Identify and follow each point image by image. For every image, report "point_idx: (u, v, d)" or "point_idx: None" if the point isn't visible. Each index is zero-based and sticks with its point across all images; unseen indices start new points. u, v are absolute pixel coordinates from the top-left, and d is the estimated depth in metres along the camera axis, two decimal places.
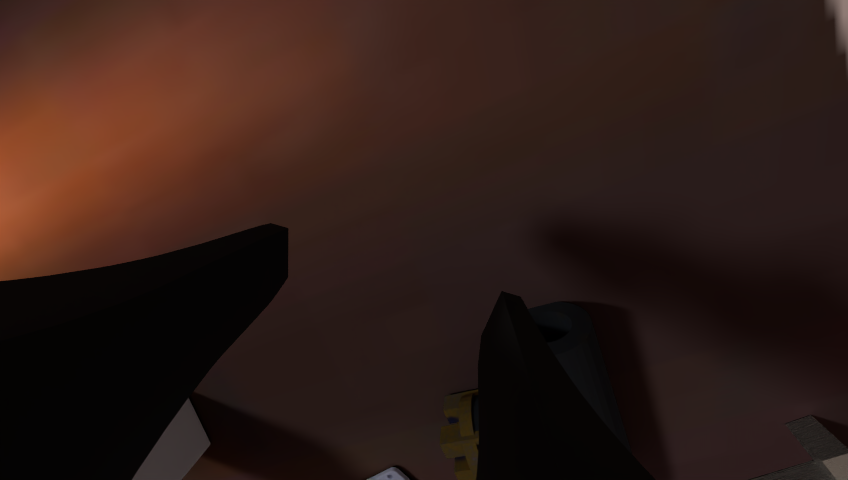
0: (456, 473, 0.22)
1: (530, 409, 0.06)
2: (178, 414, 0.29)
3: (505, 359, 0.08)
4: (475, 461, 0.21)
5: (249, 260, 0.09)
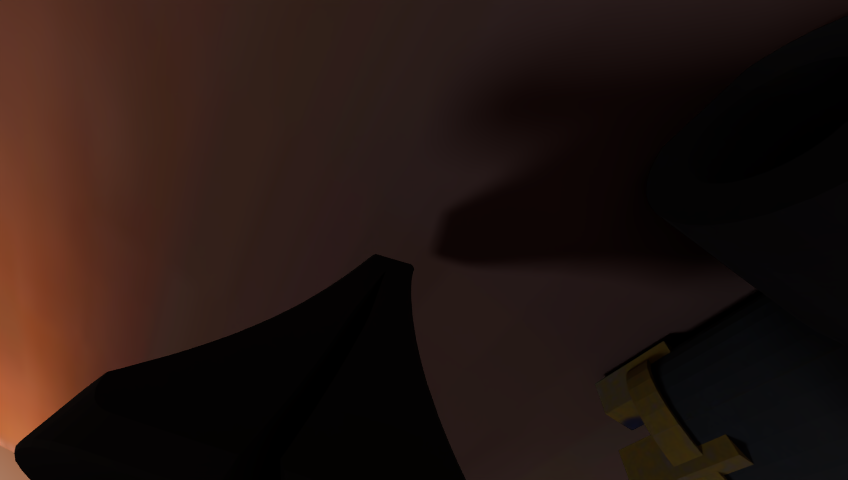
0: None
1: None
2: None
3: None
4: None
5: (372, 297, 0.09)
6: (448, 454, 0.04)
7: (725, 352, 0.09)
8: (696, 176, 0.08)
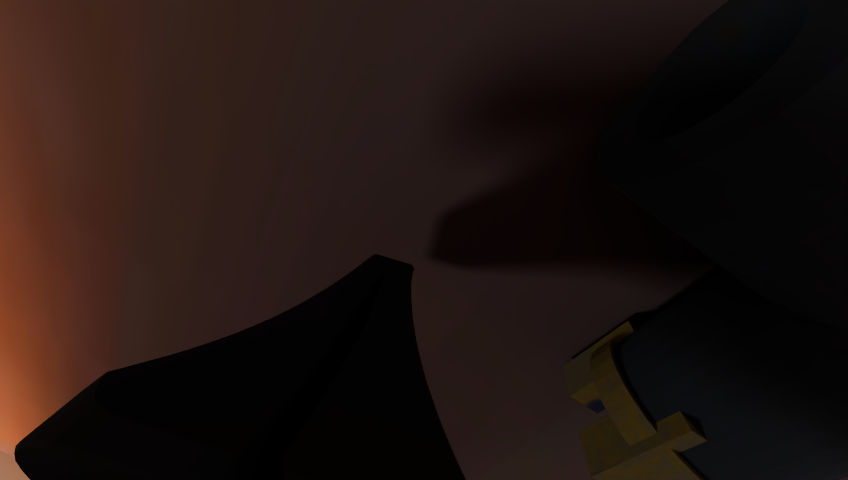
0: None
1: None
2: None
3: None
4: None
5: (372, 297, 0.09)
6: (448, 454, 0.04)
7: (683, 327, 0.09)
8: (643, 138, 0.07)
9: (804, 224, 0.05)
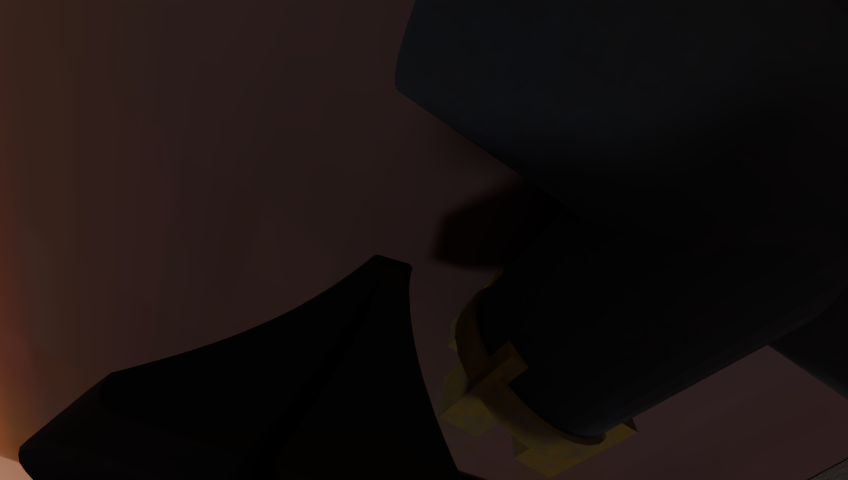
0: (520, 459, 0.10)
1: None
2: None
3: None
4: (523, 423, 0.08)
5: (374, 298, 0.09)
6: (444, 453, 0.04)
7: (524, 259, 0.09)
8: None
9: (522, 96, 0.05)
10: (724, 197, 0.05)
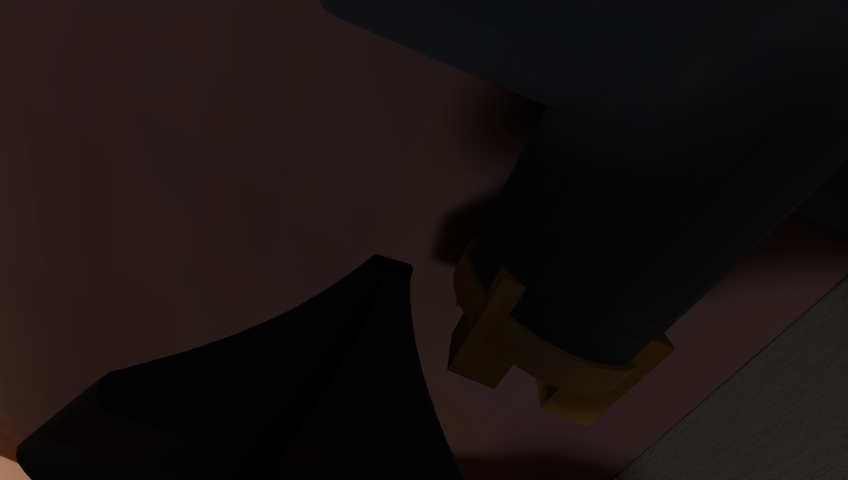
0: (548, 407, 0.08)
1: None
2: None
3: None
4: (534, 354, 0.07)
5: (373, 297, 0.09)
6: (446, 453, 0.04)
7: (508, 180, 0.08)
8: None
9: None
10: None
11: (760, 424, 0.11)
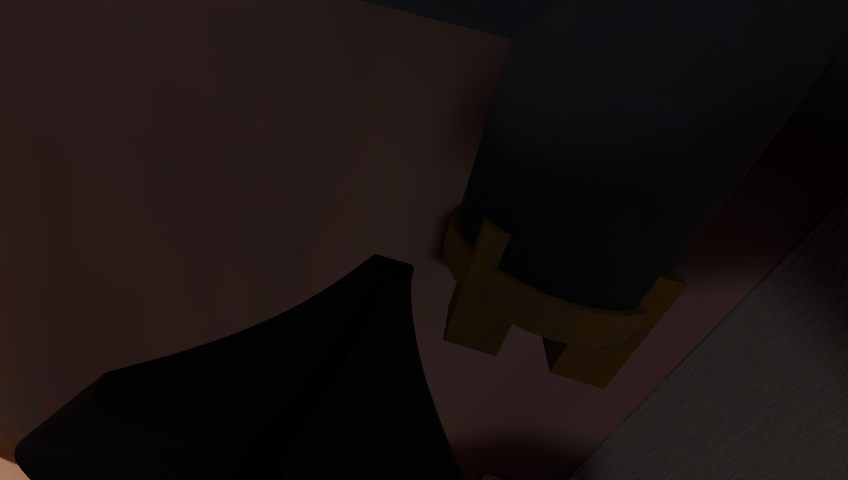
0: (558, 371, 0.08)
1: None
2: None
3: None
4: (528, 307, 0.06)
5: (372, 297, 0.09)
6: (448, 454, 0.04)
7: (484, 130, 0.07)
8: None
9: None
10: None
11: (705, 407, 0.11)
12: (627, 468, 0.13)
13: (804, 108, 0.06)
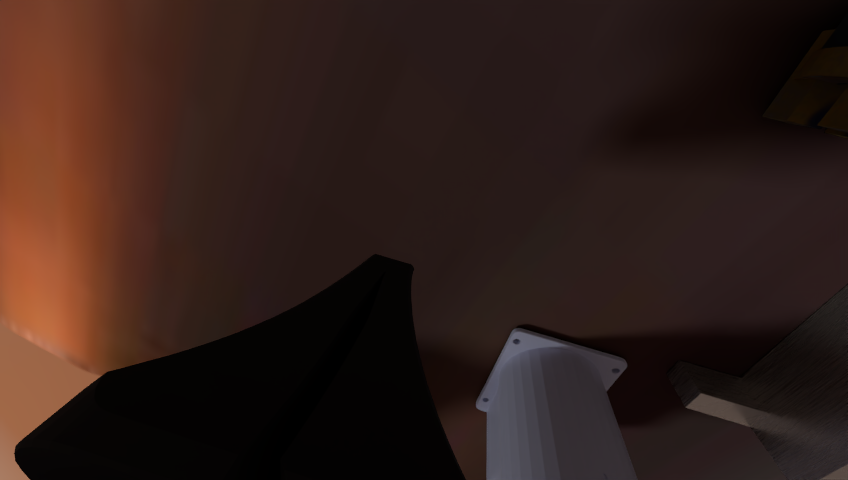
0: None
1: None
2: None
3: None
4: None
5: (372, 297, 0.09)
6: (448, 454, 0.04)
7: None
8: None
9: None
10: None
11: None
12: None
13: None
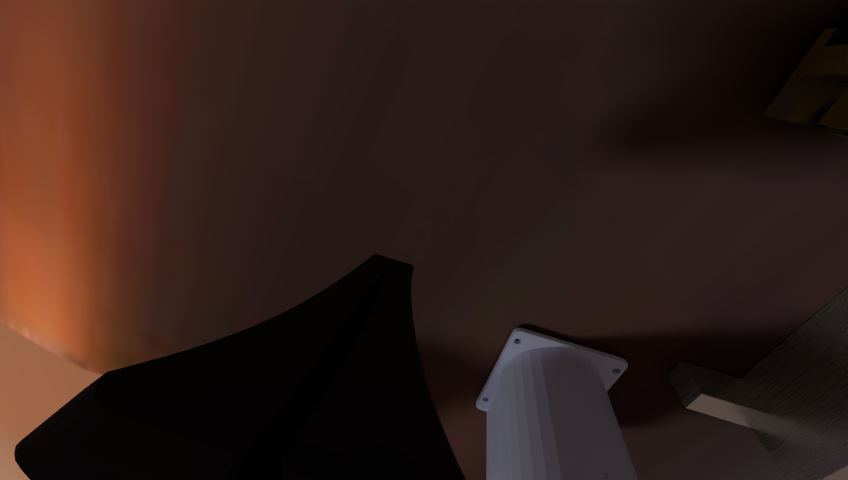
0: None
1: None
2: None
3: None
4: None
5: (372, 297, 0.09)
6: (448, 454, 0.04)
7: None
8: None
9: None
10: None
11: None
12: None
13: None
